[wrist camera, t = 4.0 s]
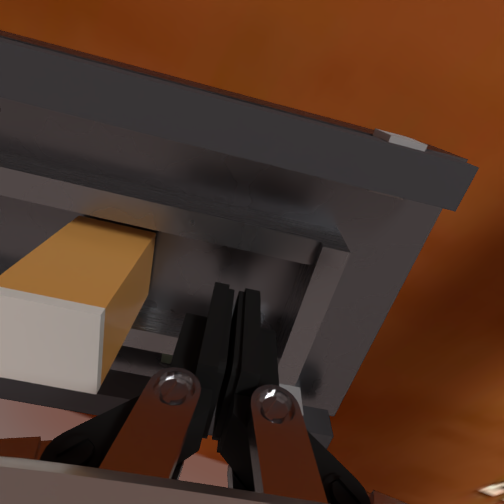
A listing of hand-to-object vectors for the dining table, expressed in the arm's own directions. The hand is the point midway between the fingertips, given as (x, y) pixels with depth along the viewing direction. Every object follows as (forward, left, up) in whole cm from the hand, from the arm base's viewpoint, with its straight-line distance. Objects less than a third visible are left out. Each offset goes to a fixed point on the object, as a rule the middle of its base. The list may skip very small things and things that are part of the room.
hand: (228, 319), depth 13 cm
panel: (+5, 0, -6) cm, 8 cm away
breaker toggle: (+5, 0, -2) cm, 6 cm away
